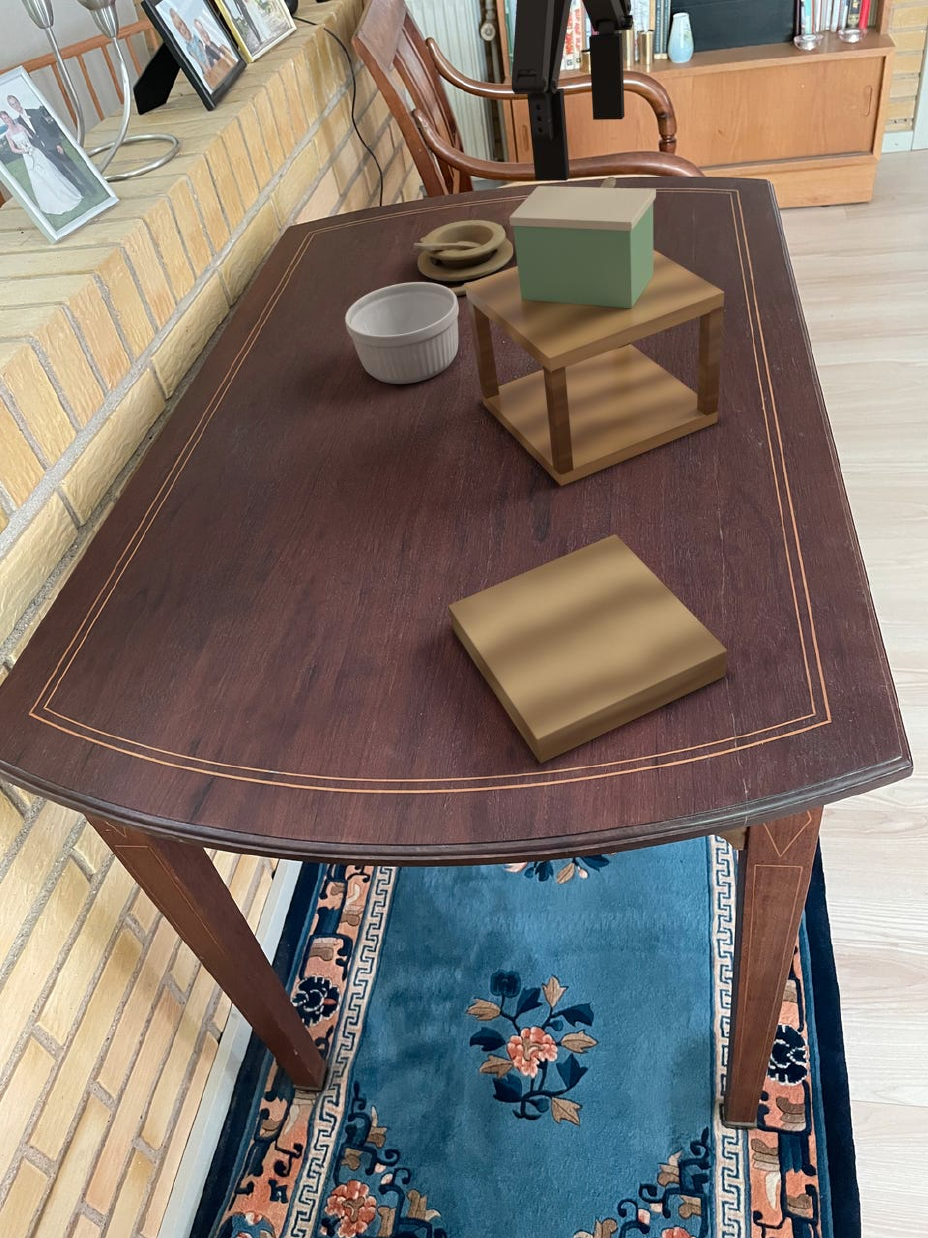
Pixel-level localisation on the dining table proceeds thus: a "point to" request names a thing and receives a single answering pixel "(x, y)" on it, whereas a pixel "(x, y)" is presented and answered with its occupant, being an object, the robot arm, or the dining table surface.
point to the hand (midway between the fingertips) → (582, 147)
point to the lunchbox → (585, 245)
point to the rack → (597, 370)
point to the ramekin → (405, 331)
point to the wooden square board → (585, 645)
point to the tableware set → (467, 249)
